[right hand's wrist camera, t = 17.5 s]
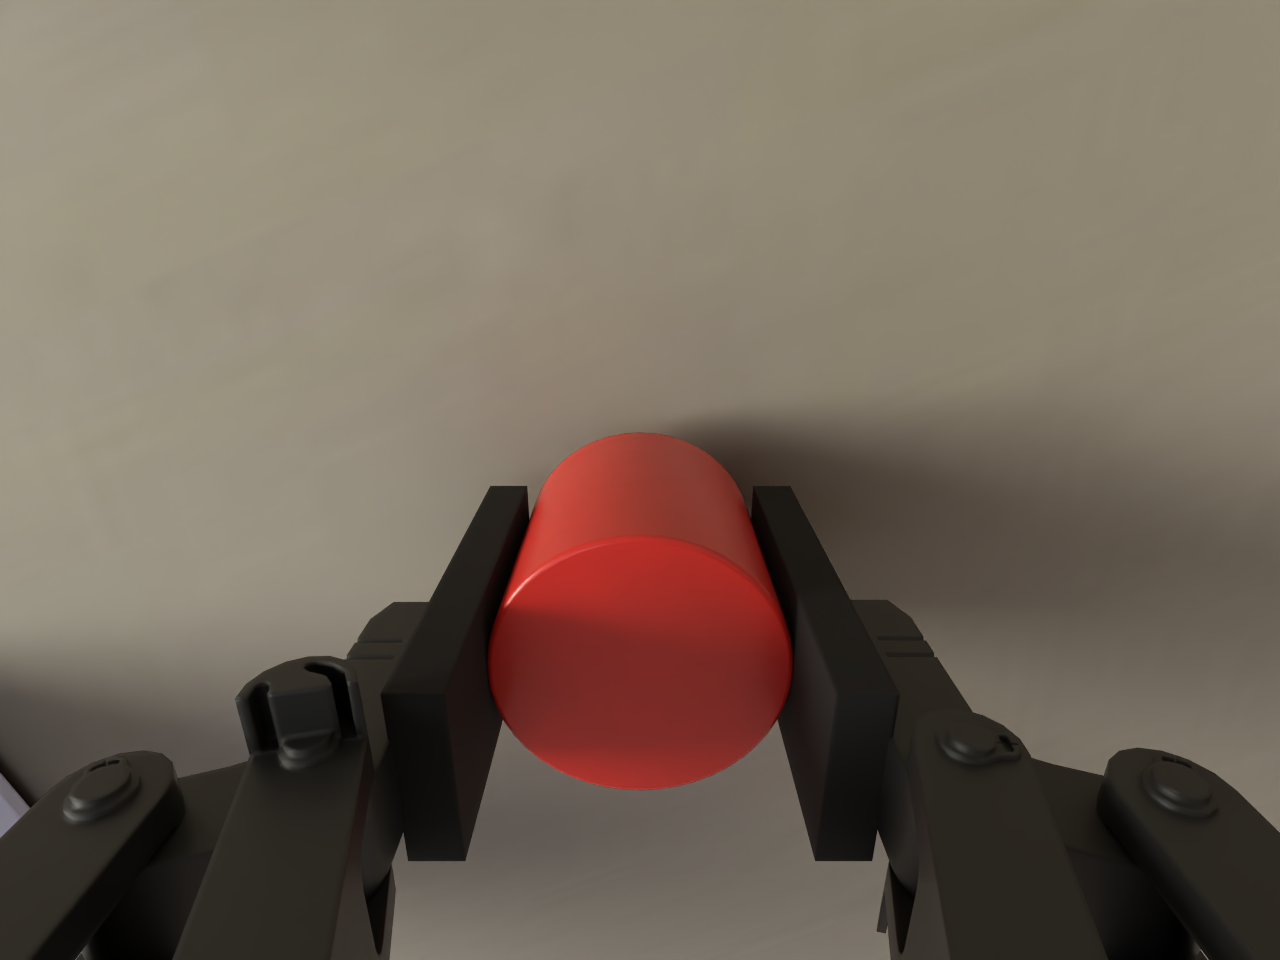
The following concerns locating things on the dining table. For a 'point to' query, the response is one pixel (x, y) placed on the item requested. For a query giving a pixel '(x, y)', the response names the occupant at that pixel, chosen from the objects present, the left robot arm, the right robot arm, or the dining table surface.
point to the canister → (640, 620)
